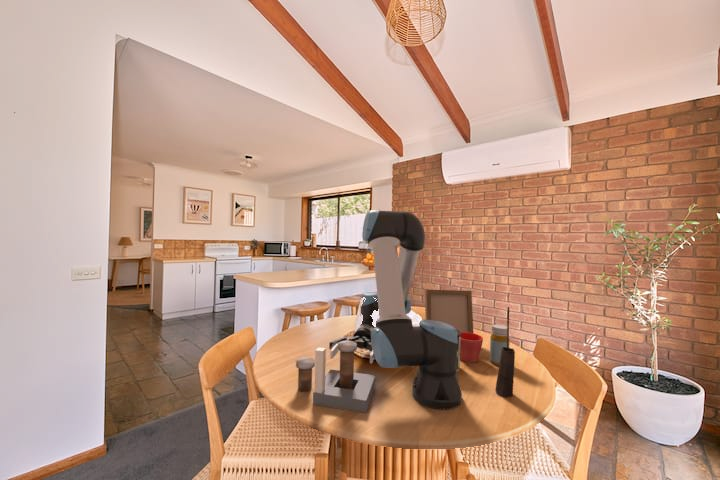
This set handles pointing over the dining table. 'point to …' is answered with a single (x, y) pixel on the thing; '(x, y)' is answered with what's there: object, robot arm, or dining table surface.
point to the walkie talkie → (506, 368)
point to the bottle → (497, 342)
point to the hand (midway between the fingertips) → (350, 356)
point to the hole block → (339, 397)
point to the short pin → (305, 373)
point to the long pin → (346, 363)
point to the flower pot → (470, 347)
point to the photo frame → (450, 308)
